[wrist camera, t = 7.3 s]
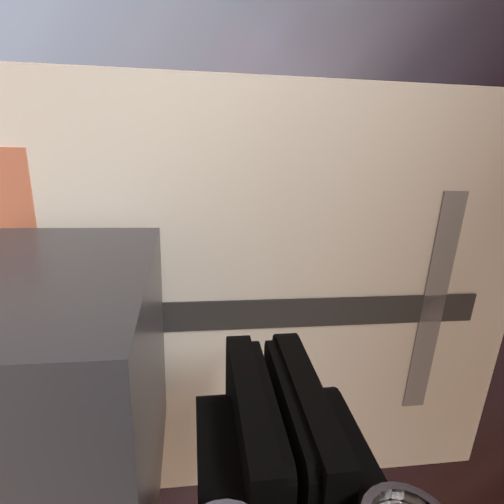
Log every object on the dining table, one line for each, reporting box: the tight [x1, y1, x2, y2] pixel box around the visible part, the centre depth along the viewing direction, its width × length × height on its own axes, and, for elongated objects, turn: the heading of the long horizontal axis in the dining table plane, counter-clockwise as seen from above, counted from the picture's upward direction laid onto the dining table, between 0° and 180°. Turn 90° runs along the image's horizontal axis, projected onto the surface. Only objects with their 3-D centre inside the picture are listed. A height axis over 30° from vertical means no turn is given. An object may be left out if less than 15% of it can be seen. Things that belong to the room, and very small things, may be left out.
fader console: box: [0, 61, 504, 489], centre depth 14 cm, size 20×14×2 cm
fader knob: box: [0, 228, 166, 504], centre depth 9 cm, size 4×6×6 cm
